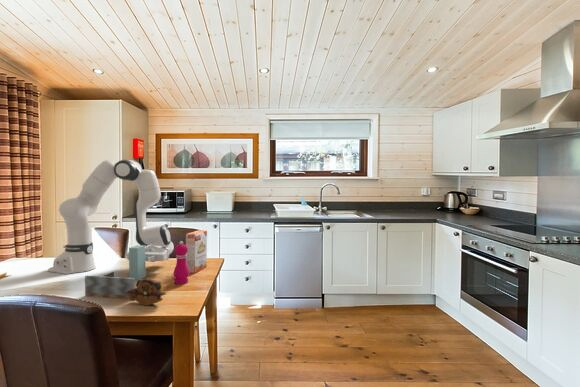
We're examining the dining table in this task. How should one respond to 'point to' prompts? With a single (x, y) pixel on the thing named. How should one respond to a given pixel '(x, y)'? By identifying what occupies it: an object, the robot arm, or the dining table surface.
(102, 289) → the grey speckled box
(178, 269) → the pepper mill
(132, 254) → the grey-green rectangular block
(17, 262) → the dining table surface
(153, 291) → the wooden carving
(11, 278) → the dining table surface
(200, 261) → the cracker box
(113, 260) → the dining table surface
